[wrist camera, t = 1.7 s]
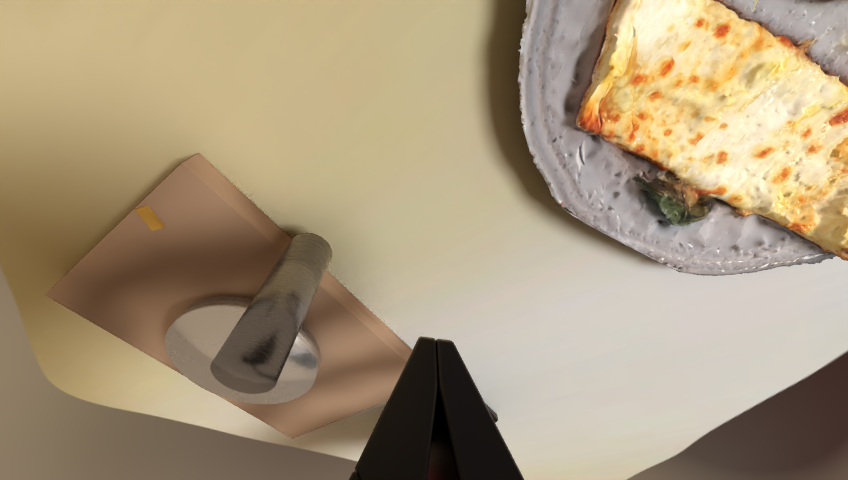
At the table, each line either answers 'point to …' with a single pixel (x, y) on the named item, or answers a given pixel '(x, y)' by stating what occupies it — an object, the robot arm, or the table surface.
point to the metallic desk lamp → (256, 332)
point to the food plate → (694, 125)
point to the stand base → (227, 292)
